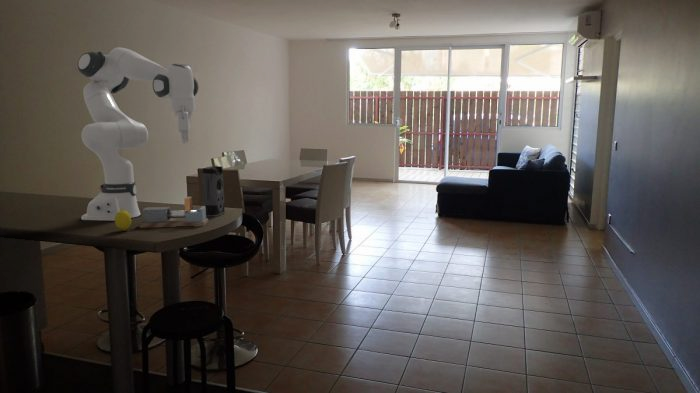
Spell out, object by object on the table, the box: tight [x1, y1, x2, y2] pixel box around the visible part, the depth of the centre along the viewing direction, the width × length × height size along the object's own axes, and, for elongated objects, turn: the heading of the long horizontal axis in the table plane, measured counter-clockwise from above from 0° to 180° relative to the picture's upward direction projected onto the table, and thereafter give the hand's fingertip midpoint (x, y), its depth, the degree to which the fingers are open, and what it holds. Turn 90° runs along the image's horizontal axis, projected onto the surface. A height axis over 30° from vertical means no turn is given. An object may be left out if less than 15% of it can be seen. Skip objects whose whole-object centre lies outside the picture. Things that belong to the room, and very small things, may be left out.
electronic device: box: [201, 165, 226, 218], centre depth 224 cm, size 9×6×20 cm, turn 168°
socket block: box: [185, 205, 207, 222], centre depth 207 cm, size 6×6×5 cm
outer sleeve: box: [141, 206, 172, 223], centre depth 206 cm, size 9×5×5 cm, turn 93°
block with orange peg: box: [167, 196, 198, 219], centre depth 206 cm, size 14×4×8 cm, turn 94°
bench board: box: [138, 217, 209, 228], centre depth 207 cm, size 24×8×2 cm, turn 94°
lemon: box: [114, 210, 132, 232], centre depth 196 cm, size 6×6×8 cm
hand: (185, 142), depth 210 cm, fingers open, 8 cm apart
